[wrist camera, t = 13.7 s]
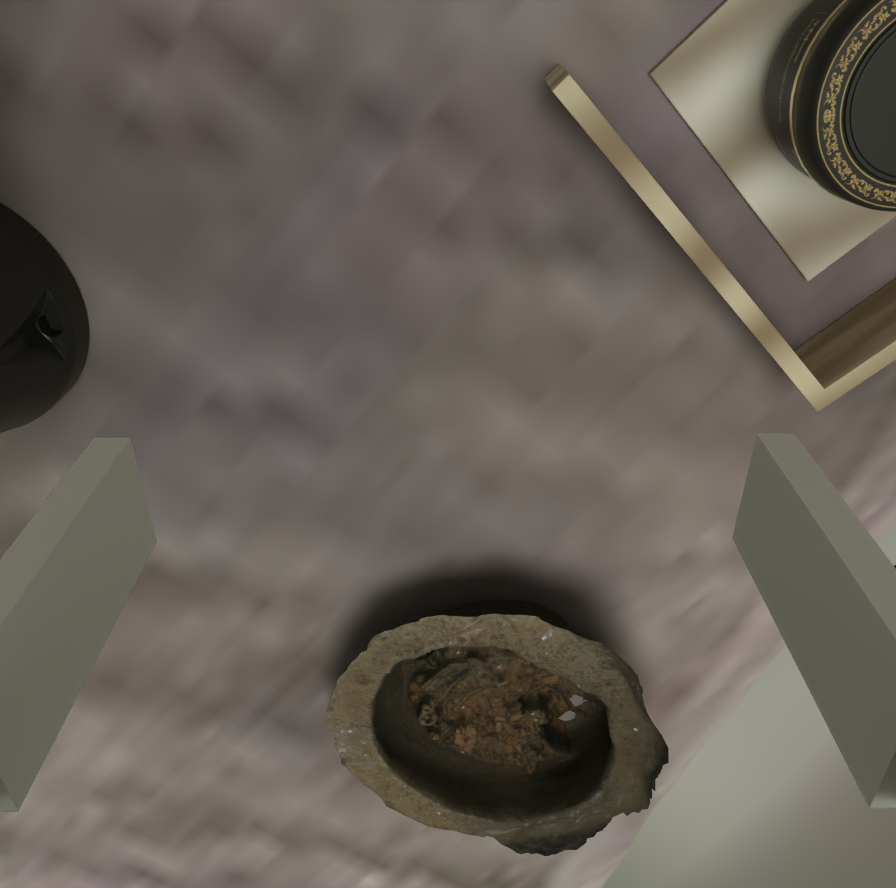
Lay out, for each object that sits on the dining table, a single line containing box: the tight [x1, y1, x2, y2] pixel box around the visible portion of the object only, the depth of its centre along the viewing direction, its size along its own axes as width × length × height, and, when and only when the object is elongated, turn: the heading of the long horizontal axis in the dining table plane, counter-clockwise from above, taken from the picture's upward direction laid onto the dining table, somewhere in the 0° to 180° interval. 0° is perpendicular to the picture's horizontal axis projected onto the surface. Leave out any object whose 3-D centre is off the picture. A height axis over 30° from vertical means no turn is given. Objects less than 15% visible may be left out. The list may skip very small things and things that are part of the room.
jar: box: [765, 0, 896, 212], centre depth 35 cm, size 10×10×8 cm
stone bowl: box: [326, 601, 668, 856], centre depth 58 cm, size 25×25×9 cm
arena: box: [544, 0, 896, 411], centre depth 38 cm, size 23×20×5 cm
